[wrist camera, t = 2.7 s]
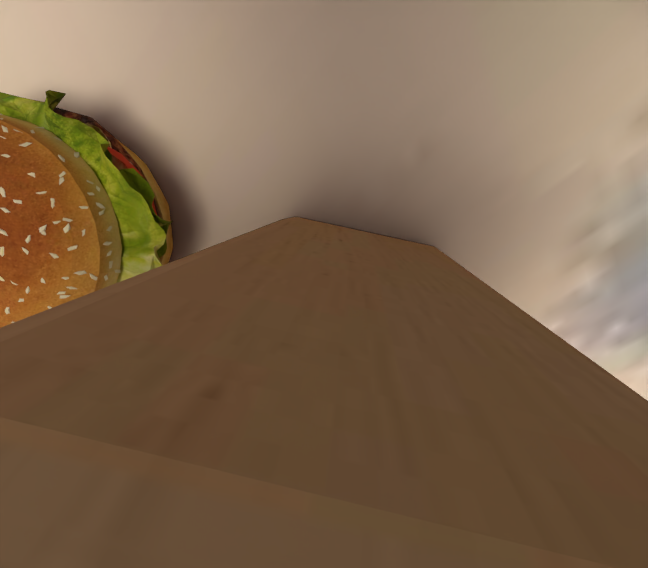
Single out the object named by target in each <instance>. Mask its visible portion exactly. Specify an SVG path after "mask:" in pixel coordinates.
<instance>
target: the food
mask: <svg viewBox="0 0 648 568" xmlns="http://www.w3.org/2000/svg"><path fill="white" fill-rule="evenodd" d="M46 96H47V97H46V101H45V102H40V101H35V100H30V99H26V98H21V97H17V96H13V95H9V94H5V93H1V92H0V328H1V327H4V326H6V325H9V324H12V323H14V322H17V321H19V320H22V319H25V318H27V317H30V316H32V315H35V314H38V313H40V312H43V311H45V310H48V309H51V308H53V307H56V306H58V305H61V304H64V303H66V302H69V301H71V300H74V299H77V298H79V297H82V296H84V295H87V294H90V293H92V292H95V291H97V290H100V289H103V288H105V287H108V286H110V285H113V284H116V283H118V282H121V281H123V280H126V279H129V278H131V277H134V276H136V275H139V274H142V273H144V272H147V271H149V270H152V269H155V268H157V267H160V266H162V265H165V264H168V262H169V259H170V256H171V253H172V249H173V239H172V230H171V222H172V221H170V212H169V205H168V203H167V201H166V199H165V197H164V195H163V193H162V191H161V190H160V188H159V186H158V184H157V182H156V181H155V179H154V177H153V175H152V174H151V172H150V170H149V168H148V167H147V165H146V164H145V163H144V162H143V161H142V160H141V159H140V158H139V157H138V156H137V155H136V154H135V153H134V152H132V151H131V150H130V149H128V148H127V147H126V146H125V145H123V144H122V143H121V142H119V141H118V140H117V139H116V138H115V137H114V136H112V135H111V134H110V133H109V132H108V131H107V130H105V129H104V128H103V127H102V126H101V125H100V124H98V123H97V122H96V121H95V120H94V119H93V118H90V117H87V116H84V115H80V114H77V113H73V112H70V111H66V110H63V109H59V108H56V106H57V105H58V103H59V102H60V101H61V99H62V98H63V97H64V96H65V93H60V92H56V91H51V90H49V91H46Z"/></svg>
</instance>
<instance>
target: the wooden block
mask: <svg viewBox="0 0 648 568" xmlns="http://www.w3.org/2000/svg"><path fill="white" fill-rule="evenodd" d="M0 568H648V401H647V400H646V399H644V398H643V397H642V396H640V395H639V394H637V393H636V392H635V391H633V390H632V389H631V388H629V387H628V386H626V385H625V384H624V383H622V382H621V381H620V380H618V379H617V378H615V377H614V376H613V375H611V374H610V373H608V372H607V371H606V370H604V369H603V368H602V367H600V366H599V365H597V364H596V363H595V362H593V361H592V360H590V359H589V358H588V357H586V356H585V355H584V354H582V353H581V352H579V351H578V350H577V349H575V348H574V347H573V346H571V345H570V344H568V343H567V342H566V341H564V340H563V339H561V338H560V337H559V336H557V335H556V334H555V333H553V332H552V331H550V330H549V329H548V328H546V327H545V326H543V325H542V324H541V323H539V322H538V321H537V320H535V319H534V318H532V317H531V316H530V315H528V314H527V313H526V312H524V311H523V310H521V309H520V308H519V307H517V306H516V305H514V304H513V303H512V302H510V301H509V300H508V299H506V298H505V297H503V296H502V295H501V294H499V293H498V292H497V291H495V290H494V289H492V288H491V287H490V286H488V285H487V284H485V283H484V282H483V281H481V280H480V279H479V278H477V277H476V276H474V275H473V274H472V273H470V272H469V271H467V270H466V269H465V268H463V267H462V266H461V265H459V264H458V263H456V262H455V261H454V260H452V259H451V258H450V257H448V256H447V255H445V254H444V253H443V252H441V251H440V250H438V249H437V248H435V247H434V246H429V245H424V244H420V243H415V242H410V241H406V240H401V239H397V238H392V237H387V236H383V235H378V234H373V233H369V232H364V231H360V230H355V229H350V228H346V227H341V226H336V225H332V224H327V223H323V222H318V221H313V220H309V219H304V218H299V217H292V218H286V219H282V220H279V221H277V222H274V223H272V224H269V225H266V226H264V227H261V228H259V229H256V230H253V231H251V232H248V233H246V234H243V235H240V236H238V237H235V238H233V239H230V240H227V241H225V242H222V243H220V244H217V245H214V246H212V247H209V248H207V249H204V250H201V251H199V252H196V253H194V254H191V255H188V256H186V257H183V258H181V259H178V260H175V261H173V262H170V263H168V264H165V265H162V266H160V267H157V268H155V269H152V270H149V271H147V272H144V273H142V274H139V275H136V276H134V277H131V278H129V279H126V280H123V281H121V282H118V283H116V284H113V285H110V286H108V287H105V288H103V289H100V290H97V291H95V292H92V293H90V294H87V295H84V296H82V297H79V298H77V299H74V300H71V301H69V302H66V303H64V304H61V305H58V306H56V307H53V308H51V309H48V310H45V311H43V312H40V313H38V314H35V315H32V316H30V317H27V318H25V319H22V320H19V321H17V322H14V323H12V324H9V325H6V326H4V327H1V328H0Z"/></svg>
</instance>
